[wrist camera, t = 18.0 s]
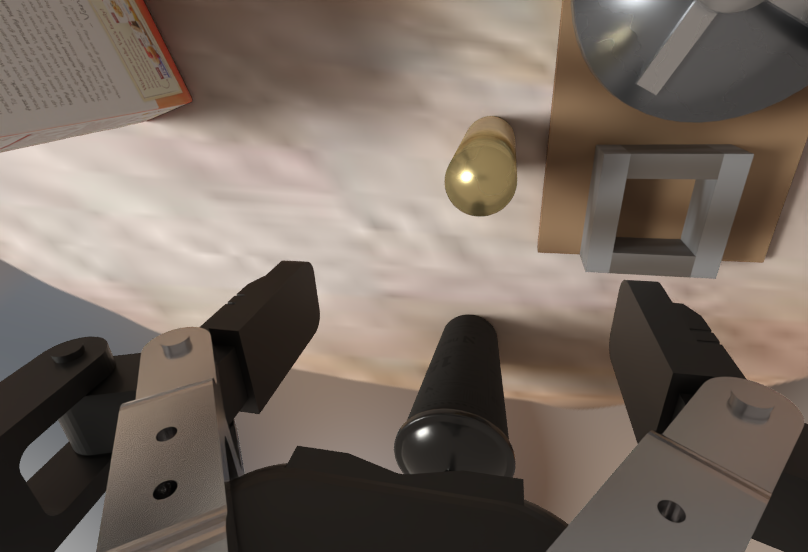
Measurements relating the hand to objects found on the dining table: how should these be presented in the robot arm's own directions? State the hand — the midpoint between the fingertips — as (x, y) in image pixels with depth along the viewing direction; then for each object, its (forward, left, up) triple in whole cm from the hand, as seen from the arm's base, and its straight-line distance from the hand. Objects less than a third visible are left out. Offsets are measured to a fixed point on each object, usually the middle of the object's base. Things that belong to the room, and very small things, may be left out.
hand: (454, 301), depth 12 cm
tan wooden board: (-4, +12, -23) cm, 26 cm away
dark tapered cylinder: (+17, -1, -23) cm, 29 cm away
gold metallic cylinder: (0, 0, -23) cm, 23 cm away
